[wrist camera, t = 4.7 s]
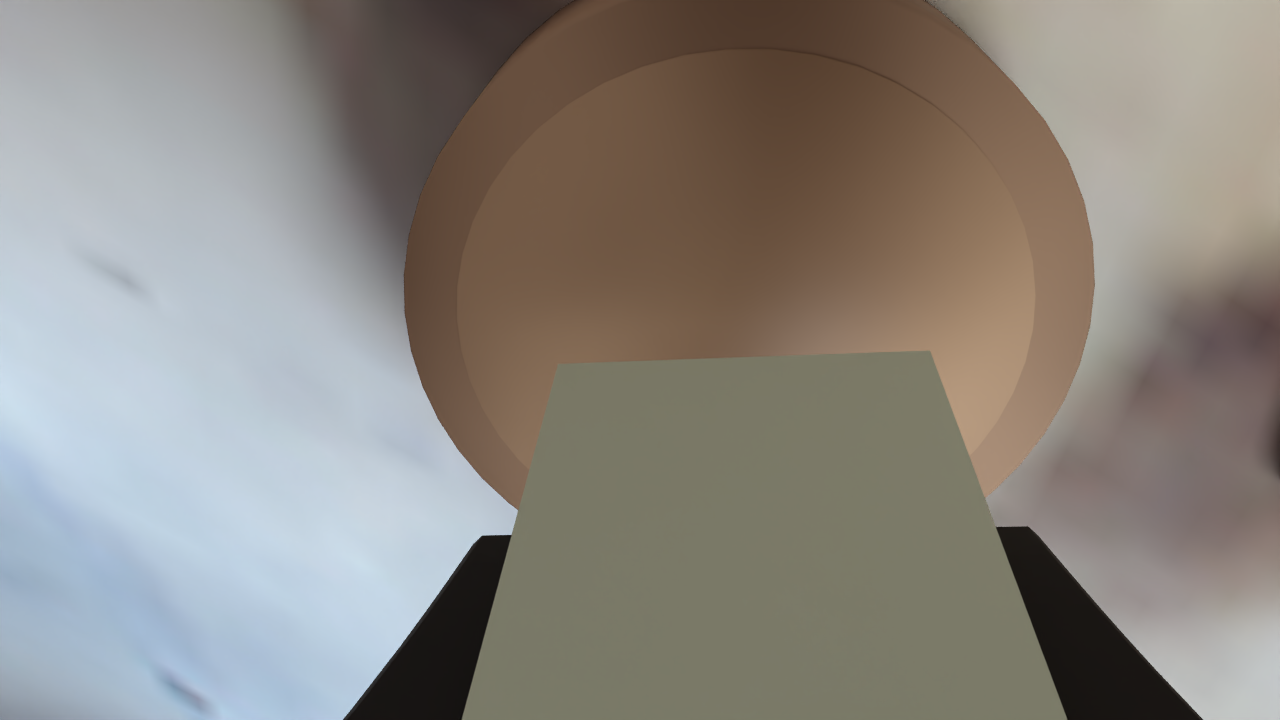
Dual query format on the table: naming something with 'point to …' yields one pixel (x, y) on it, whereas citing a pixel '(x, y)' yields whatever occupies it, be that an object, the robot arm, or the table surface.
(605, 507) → the block
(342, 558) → the table surface
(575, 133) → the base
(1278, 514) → the table surface
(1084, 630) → the robot arm
